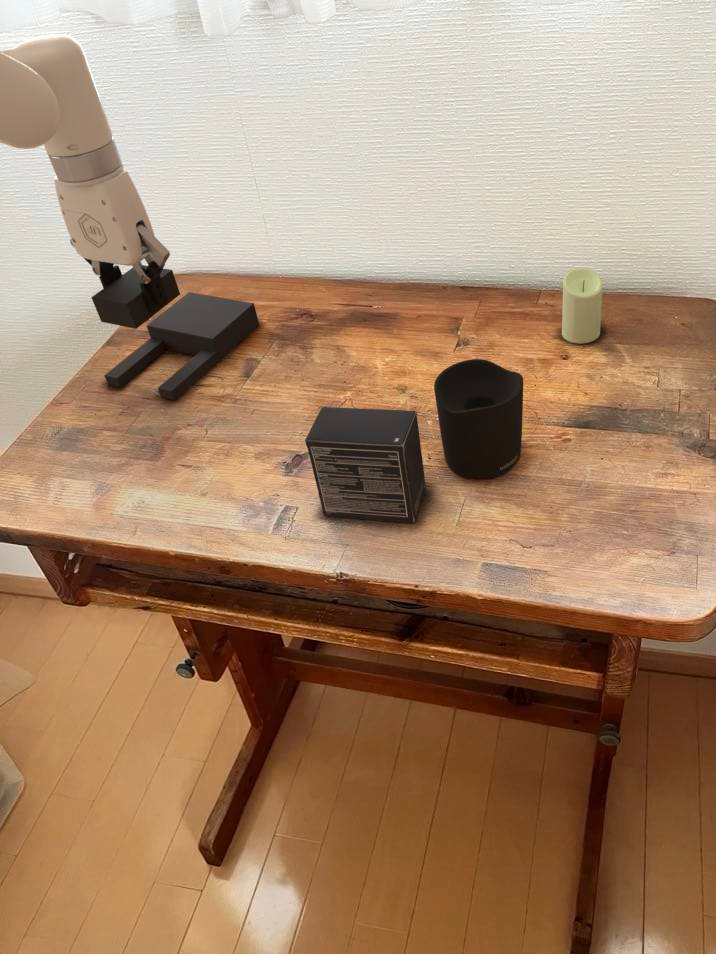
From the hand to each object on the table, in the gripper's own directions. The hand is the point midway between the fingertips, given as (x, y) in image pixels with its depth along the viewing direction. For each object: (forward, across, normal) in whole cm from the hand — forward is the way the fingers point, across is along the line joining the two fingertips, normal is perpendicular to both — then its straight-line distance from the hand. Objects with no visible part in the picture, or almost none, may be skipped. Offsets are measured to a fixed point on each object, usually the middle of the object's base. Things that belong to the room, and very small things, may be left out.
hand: (138, 301), depth 108 cm
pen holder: (+11, +49, -2) cm, 50 cm away
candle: (+11, +51, +26) cm, 58 cm away
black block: (+1, 0, 0) cm, 1 cm away
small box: (+11, +41, -13) cm, 44 cm away
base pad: (+11, 0, +5) cm, 12 cm away
